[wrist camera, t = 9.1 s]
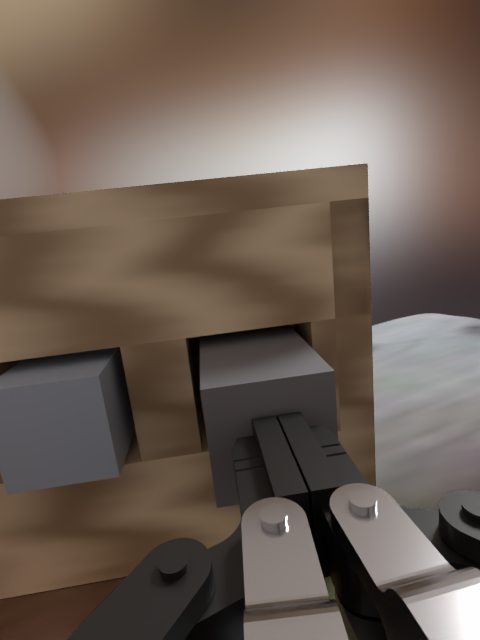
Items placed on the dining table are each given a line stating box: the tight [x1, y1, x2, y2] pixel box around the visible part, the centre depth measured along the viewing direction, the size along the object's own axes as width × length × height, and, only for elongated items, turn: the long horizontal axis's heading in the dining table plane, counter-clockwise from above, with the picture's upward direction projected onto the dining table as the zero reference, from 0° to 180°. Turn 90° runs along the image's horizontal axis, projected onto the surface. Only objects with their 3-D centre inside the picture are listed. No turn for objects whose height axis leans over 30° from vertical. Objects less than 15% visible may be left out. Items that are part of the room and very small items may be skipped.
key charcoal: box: [200, 325, 338, 508], centre depth 14 cm, size 4×6×4 cm, turn 6°
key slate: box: [0, 347, 135, 495], centre depth 16 cm, size 4×6×4 cm, turn 6°
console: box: [0, 164, 376, 599], centre depth 19 cm, size 25×9×16 cm, turn 96°
